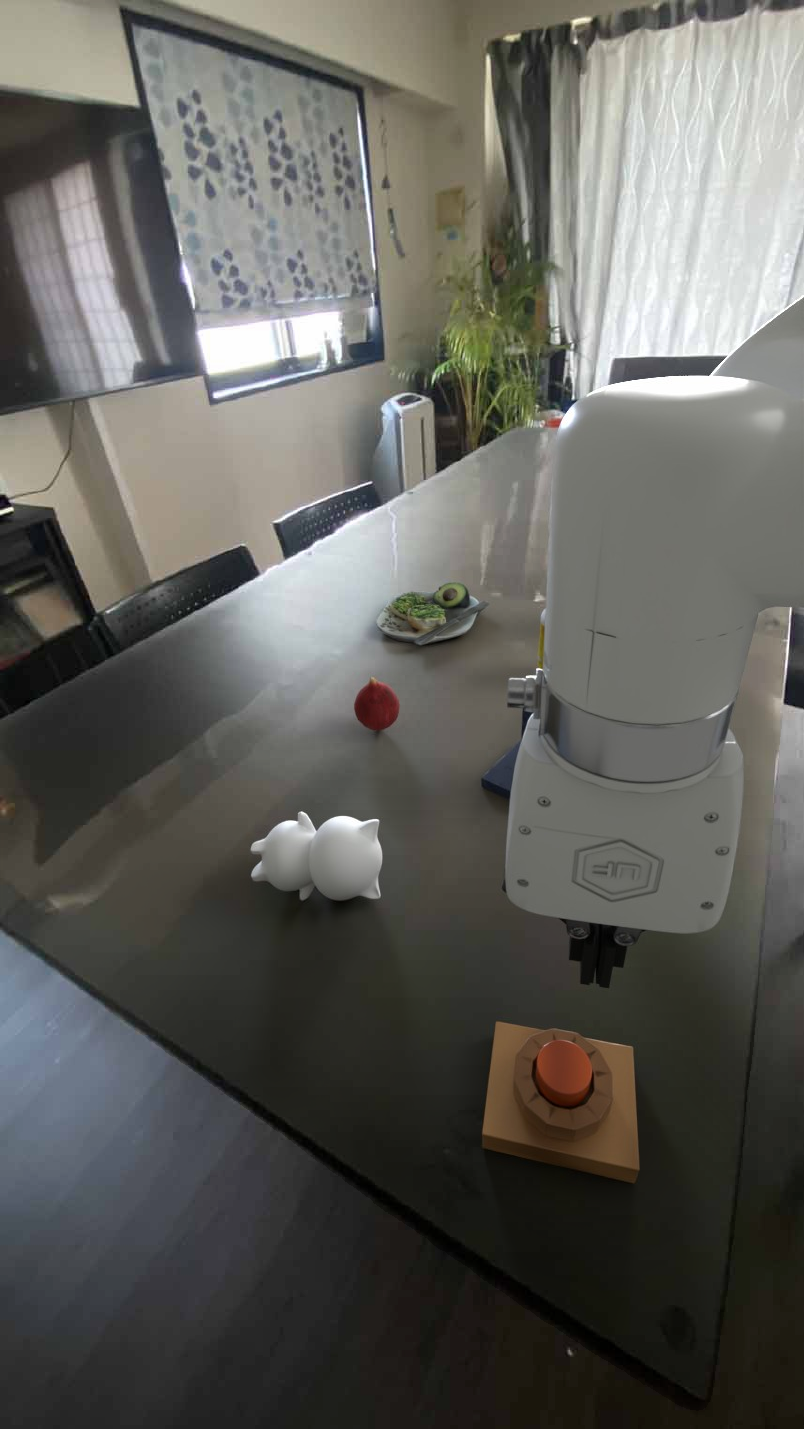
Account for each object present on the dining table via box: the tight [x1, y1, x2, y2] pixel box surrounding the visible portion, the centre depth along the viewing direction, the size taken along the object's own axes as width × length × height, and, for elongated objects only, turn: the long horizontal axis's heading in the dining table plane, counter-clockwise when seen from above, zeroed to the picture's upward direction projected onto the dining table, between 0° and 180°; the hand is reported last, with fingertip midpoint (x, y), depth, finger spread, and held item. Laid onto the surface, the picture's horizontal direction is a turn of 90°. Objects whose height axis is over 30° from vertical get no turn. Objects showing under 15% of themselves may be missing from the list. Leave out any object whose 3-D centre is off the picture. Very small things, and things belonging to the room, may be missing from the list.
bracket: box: [480, 708, 533, 800], centre depth 70 cm, size 12×9×13 cm
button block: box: [481, 1021, 641, 1184], centre depth 45 cm, size 10×8×4 cm
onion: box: [353, 676, 401, 732], centre depth 82 cm, size 6×6×8 cm
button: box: [536, 1040, 592, 1106], centre depth 43 cm, size 4×4×2 cm
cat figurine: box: [250, 811, 383, 902], centre depth 63 cm, size 9×11×12 cm
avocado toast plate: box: [375, 582, 490, 646], centre depth 107 cm, size 19×18×5 cm
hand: (594, 963), depth 38 cm, fingers closed
